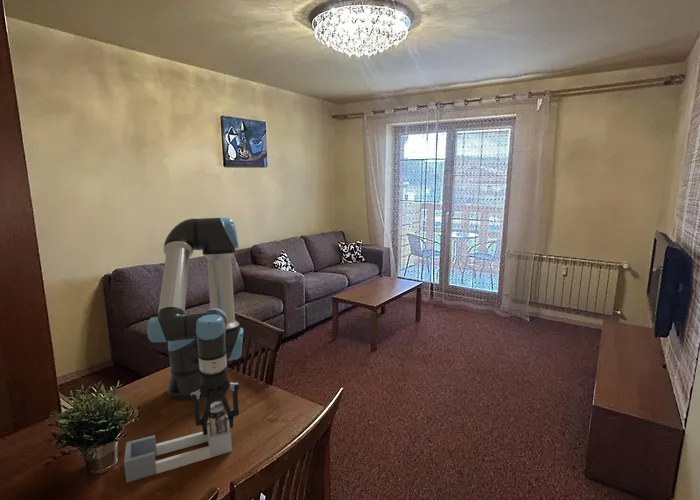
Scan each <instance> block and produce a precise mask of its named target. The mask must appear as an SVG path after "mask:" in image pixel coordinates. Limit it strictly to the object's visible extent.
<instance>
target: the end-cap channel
mask: <svg viewBox="0 0 700 500" xmlns="http://www.w3.org/2000/svg"><path fill="white" fill-rule="evenodd" d="M209 424H210V423H209ZM156 442H157V441H156V435H155V434H152V435H149V436H145V437H142V438H138V439H134V440H129V441H127V442H126V444H125V450H124V451H125V452H124V457H123V458H124V460H123V468H124V474H125V482H126V484H127V483H130V482H131V483H132V482H134V481H137V480H141V479H143V478H147V477H150V476H153V475H158V474H160V473H163V472H167V471H170V470H174V469H177V468H180V467H184V466H187V465H190V464H193V463H197V462H201V461H204V460H207V459H211V458H213V457H217V456H222V455H225V454H227V453H231V452H233V445H232V444H233V443H232V432H231V430H230V431H227V432H223V433H220V434H216V435H213V436H209V445H208V446H204V447H200V448H197V449H194V450H191V451H187V452H183V453H180V454H177V455H173V456H169V457H166V458H162V459H159V460H158V459H157V460H156V457H157V456H161V455H165V454H168V453H173V452H175V451H179V450H182V449H185V448H190V447H193V446H197V445H200V444H203V443H208V439H207V435H204V434H203V431H200V432H196V433H192V434H188V435H185V436H181V437H178V438H173V439H170V440H166V441H162V442H158V443H156Z"/></svg>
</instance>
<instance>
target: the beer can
mask: <svg viewBox="0 0 700 500" xmlns="http://www.w3.org/2000/svg"><path fill="white" fill-rule="evenodd" d="M226 416H227V413H226V410H225V407H224V404H223V402H222V400H216V401H213V402H212V403H211V406H210V411H209V416H208V420H209V423H210V435H211V436H213V435H216V434H220V433H223V432H227V428H226Z"/></svg>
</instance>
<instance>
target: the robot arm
mask: <svg viewBox="0 0 700 500" xmlns="http://www.w3.org/2000/svg"><path fill="white" fill-rule="evenodd" d="M239 245H240V244H239V240H238V233H237V229H236V224H235V221H234V220H233V218H231V217H210V218H209V217H208V218H207V217H206V218H205V217H204V218H187V219H185V220H183V221H180V222H179V223H177V225H175V226H174V228H172V229H171V230H170V232H169V234H167V236H166V238H165V241H164V244H163V252H164V255H165V260H164V267H163V272H162V273H163V274H162V275H163V276H162V280H161V281H162V282H161V290H160V297H159V304H158V311H157V313H158V314H157V316H152V317H150V318H149V319H148V321H147V325H146V326H147V327H146V328H147V329H146V333H147V338H148V339H149V341H150V342H151V343H167V350H168V359H169V369H170V370H169V371H170V376H169V380H168V383H167V388H166V390H167V396H168V398H170V399H172V400H173V401H188V400H192V403H193V408H194V409H193V410H194V411H193V412H194V421H195V422H194V423H195V426H196V427H199V426H201V427H202V428H201V429H202V432H203V434H204V435H207V439H208V442H207V443H208V444H207V445H208V446H209V436H211V435H210V424H209V411H210V406H211V403H213V402H212V401H214V400H217V399H220V400H221V402H223V404H224V407H225V413H226V428H227V431H230V432H231V429H232V428H234V417H235V416H239V415H240V411H239V410H240V408H239V397H238V396H239V395H238V394H239V393H238V392H239V389H240V385H239V383H238V381H234V382H230V380H229V374H228V373H229V372H228V366H227V365H228V362H229V361H235V360H238V359H239V358H241V357H242V350H243V339H244V338H243V337H244V328H243V327H240V322H239V321H237V320H236V317H235V316H236V315H235V301H234V299H235V297H234V282H233V265H232V264H233V263H232V258H233V256H234V255H235V254H236V249H239V247H240V246H239ZM194 251H202V256H203V257H204V258H205V259H206V260H207V275H208V292H209V293H208V294H209V309H207V310H206V311H205V312H202V313H201V312H200V313H199V312H198V313H187V314H186V302H187V293H188V292H187V291H188V290H187V289H188V281H189V279H188V277H189V267H190V258H191V257H192V255H193V254H194ZM229 388H230V390H231V397H232V407H233V410H231V407H230V404H229V402H228V400H227V397H226V393H227V391H228V390H229ZM200 396H203V397H204V398H205V401H204V407H203V411H202V412H203V413H202V416H201V417H200V404H199V399H200Z"/></svg>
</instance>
